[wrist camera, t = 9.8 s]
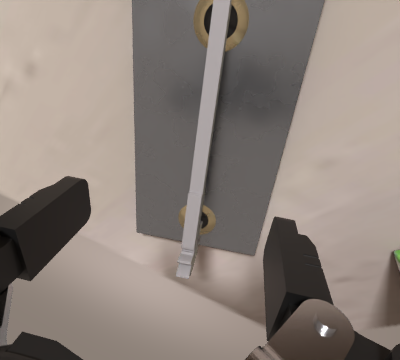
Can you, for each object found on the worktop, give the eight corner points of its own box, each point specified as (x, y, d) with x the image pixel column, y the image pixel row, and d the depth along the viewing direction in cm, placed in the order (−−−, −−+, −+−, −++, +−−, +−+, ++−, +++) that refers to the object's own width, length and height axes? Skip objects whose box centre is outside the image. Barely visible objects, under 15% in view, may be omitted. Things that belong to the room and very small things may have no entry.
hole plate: (326, -25, 16) (332, -30, 14) (254, 247, 26) (254, 255, 25) (138, -41, 17) (130, -47, 16) (141, 225, 27) (136, 232, 26)
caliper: (201, 238, 25) (188, 292, 19) (190, 236, 25) (174, 289, 20) (235, -22, 15) (228, -61, 10) (217, -24, 15) (200, -63, 10)
